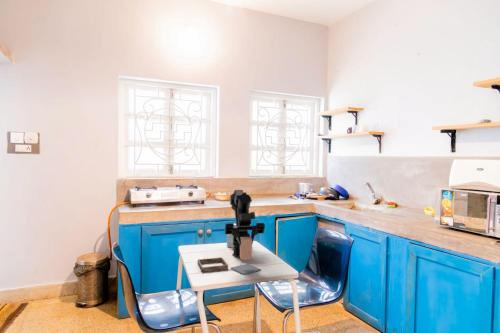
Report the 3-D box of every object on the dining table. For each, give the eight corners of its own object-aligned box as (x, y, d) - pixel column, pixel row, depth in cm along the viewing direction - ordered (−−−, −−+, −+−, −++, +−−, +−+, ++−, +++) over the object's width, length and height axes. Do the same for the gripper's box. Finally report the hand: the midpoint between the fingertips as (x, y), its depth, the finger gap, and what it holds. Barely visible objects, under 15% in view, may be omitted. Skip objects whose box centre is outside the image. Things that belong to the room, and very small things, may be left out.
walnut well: (222, 261, 158) (222, 257, 158) (228, 269, 146) (228, 265, 146) (197, 263, 154) (197, 259, 154) (201, 272, 142) (201, 267, 142)
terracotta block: (239, 256, 148) (239, 237, 148) (250, 255, 149) (250, 236, 148) (241, 259, 143) (241, 239, 143) (251, 259, 144) (252, 239, 144)
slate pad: (247, 264, 153) (247, 263, 153) (261, 270, 145) (261, 269, 145) (230, 268, 147) (230, 267, 147) (243, 275, 139) (243, 273, 139)
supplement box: (236, 248, 180) (237, 226, 180) (226, 246, 184) (226, 225, 184) (244, 245, 186) (244, 224, 186) (233, 244, 190) (233, 223, 190)
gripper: (225, 206, 148) (226, 235, 137) (264, 205, 151) (268, 234, 140) (224, 219, 156) (225, 248, 145) (261, 219, 159) (265, 247, 148)
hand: (246, 244), depth 144 cm, fingers closed on terracotta block, 5 cm apart
